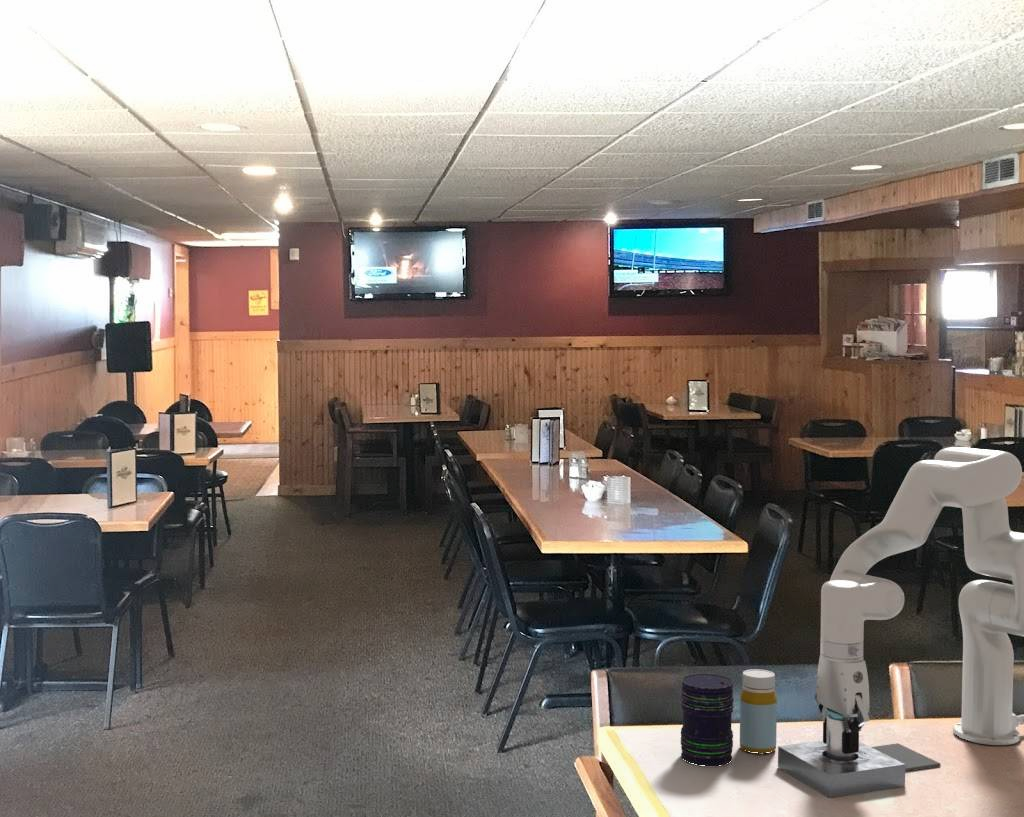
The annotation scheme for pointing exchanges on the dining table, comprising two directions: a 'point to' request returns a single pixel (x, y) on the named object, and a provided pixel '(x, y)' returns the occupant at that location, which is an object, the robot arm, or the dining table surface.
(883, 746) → the mat
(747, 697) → the bottle
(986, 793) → the dining table surface
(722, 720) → the storage jar
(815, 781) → the housing
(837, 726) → the plug
